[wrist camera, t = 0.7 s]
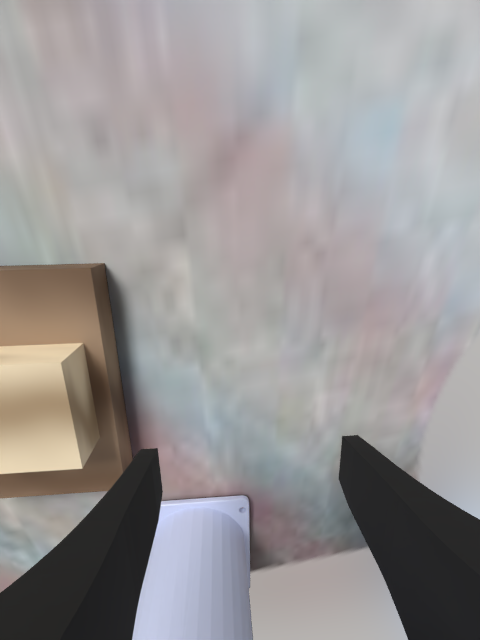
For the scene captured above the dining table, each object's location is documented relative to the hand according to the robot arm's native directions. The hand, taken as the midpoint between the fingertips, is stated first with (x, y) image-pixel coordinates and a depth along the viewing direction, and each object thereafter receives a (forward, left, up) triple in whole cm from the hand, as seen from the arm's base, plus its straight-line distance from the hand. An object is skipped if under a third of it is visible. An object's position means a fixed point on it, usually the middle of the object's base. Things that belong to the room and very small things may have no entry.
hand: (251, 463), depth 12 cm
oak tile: (0, +11, -6) cm, 13 cm away
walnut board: (0, +12, -8) cm, 15 cm away
